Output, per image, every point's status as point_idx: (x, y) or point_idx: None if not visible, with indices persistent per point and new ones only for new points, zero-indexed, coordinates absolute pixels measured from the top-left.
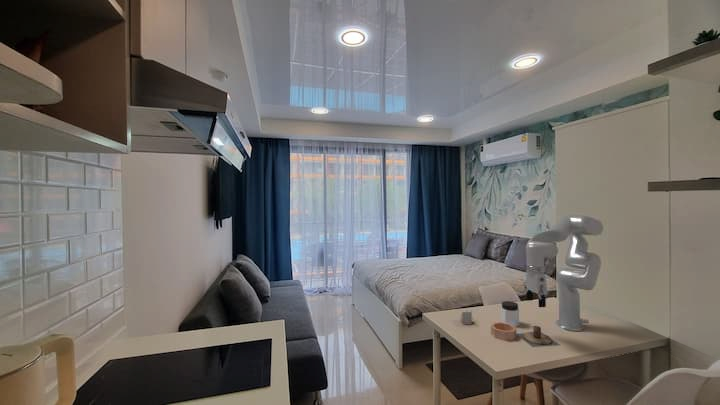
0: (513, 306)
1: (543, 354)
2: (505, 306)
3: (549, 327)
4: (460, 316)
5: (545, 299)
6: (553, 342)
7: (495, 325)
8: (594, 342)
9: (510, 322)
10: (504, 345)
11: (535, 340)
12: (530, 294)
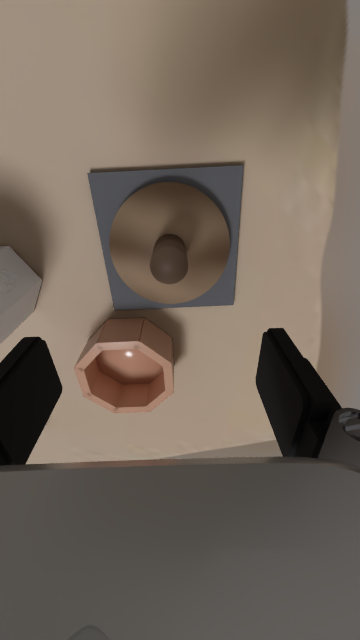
0: None
1: (283, 290)
2: None
3: None
4: None
5: (327, 395)
6: (210, 186)
7: (93, 387)
8: None
9: (26, 305)
10: (198, 375)
11: (200, 276)
12: (17, 421)
